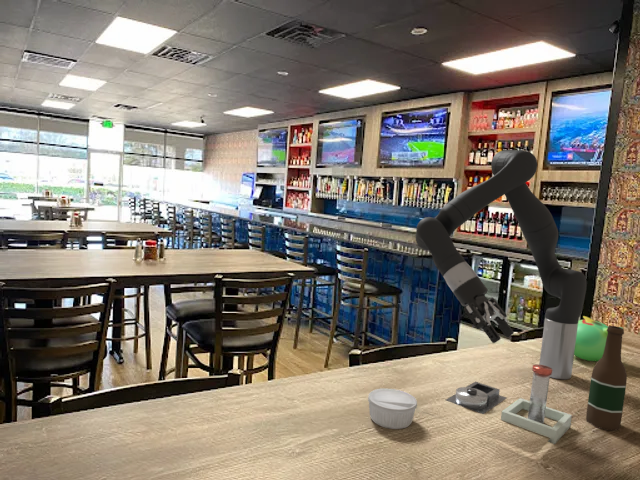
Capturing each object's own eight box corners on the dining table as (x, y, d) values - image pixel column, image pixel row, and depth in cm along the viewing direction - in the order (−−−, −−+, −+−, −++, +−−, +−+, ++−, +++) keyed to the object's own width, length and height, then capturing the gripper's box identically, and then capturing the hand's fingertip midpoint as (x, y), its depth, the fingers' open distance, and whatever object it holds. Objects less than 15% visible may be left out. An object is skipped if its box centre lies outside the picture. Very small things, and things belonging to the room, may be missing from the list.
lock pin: (529, 416, 116) (536, 363, 115) (547, 423, 114) (554, 368, 112) (523, 422, 113) (530, 367, 112) (541, 428, 110) (549, 372, 109)
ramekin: (384, 435, 103) (386, 412, 103) (356, 413, 113) (358, 391, 112) (425, 427, 108) (427, 404, 108) (395, 406, 118) (397, 385, 118)
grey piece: (470, 389, 133) (471, 374, 132) (506, 401, 126) (508, 385, 126) (444, 403, 122) (446, 387, 121) (482, 418, 115) (484, 401, 115)
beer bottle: (627, 433, 113) (641, 333, 111) (590, 428, 114) (604, 329, 112) (613, 419, 120) (626, 325, 118) (580, 414, 122) (592, 321, 120)
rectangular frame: (518, 409, 122) (520, 397, 122) (570, 427, 114) (571, 415, 114) (500, 423, 113) (501, 411, 113) (554, 444, 105) (556, 430, 105)
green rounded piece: (567, 348, 181) (572, 310, 180) (619, 360, 171) (625, 319, 170) (558, 359, 167) (563, 317, 165) (615, 372, 157) (621, 328, 156)
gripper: (463, 277, 117) (505, 335, 111) (487, 273, 128) (526, 325, 121) (441, 294, 121) (480, 351, 115) (466, 289, 132) (503, 341, 125)
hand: (504, 338), depth 118 cm, fingers open, 8 cm apart
